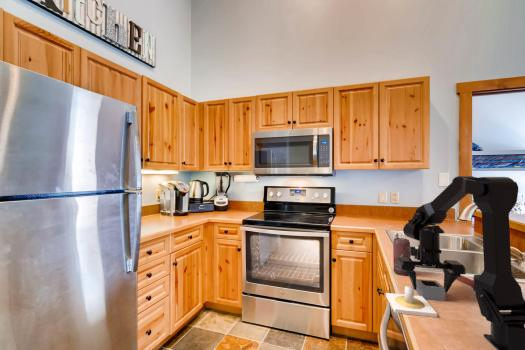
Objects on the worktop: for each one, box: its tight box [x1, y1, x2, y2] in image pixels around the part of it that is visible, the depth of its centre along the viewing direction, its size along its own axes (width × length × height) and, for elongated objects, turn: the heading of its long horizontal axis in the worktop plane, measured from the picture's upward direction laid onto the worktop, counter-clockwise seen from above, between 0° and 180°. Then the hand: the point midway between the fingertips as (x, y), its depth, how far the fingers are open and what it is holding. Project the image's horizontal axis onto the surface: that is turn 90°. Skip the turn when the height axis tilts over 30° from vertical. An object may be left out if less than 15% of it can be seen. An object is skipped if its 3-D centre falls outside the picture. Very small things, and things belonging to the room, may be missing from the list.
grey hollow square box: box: [415, 278, 446, 302], centre depth 86 cm, size 6×6×4 cm
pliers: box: [455, 274, 474, 289], centre depth 92 cm, size 12×20×3 cm, turn 158°
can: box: [392, 237, 411, 277], centre depth 106 cm, size 6×6×14 cm
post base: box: [385, 285, 438, 318], centre depth 79 cm, size 11×11×6 cm
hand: (429, 290), depth 86 cm, fingers open, 9 cm apart
